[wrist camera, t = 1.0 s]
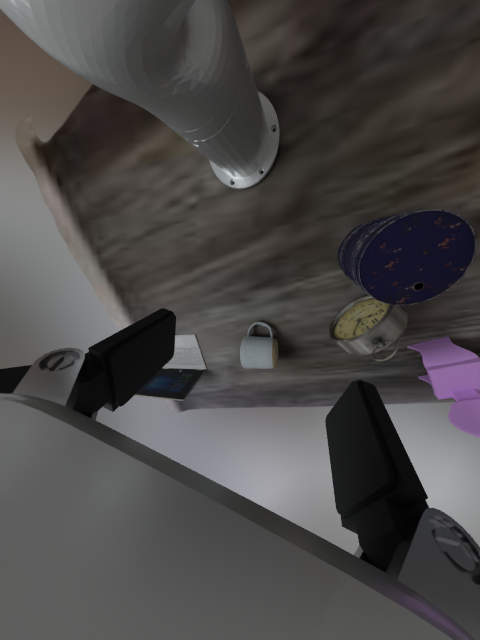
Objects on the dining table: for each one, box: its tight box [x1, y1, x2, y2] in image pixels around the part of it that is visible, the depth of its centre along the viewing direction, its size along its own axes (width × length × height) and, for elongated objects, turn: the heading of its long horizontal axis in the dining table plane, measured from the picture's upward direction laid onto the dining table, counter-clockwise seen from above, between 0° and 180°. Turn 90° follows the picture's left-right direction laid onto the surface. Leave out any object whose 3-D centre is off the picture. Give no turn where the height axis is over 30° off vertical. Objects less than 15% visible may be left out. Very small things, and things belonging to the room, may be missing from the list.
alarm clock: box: [329, 294, 408, 361], centre depth 30 cm, size 11×5×16 cm, turn 141°
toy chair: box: [407, 336, 480, 437], centre depth 29 cm, size 8×9×15 cm
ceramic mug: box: [240, 322, 278, 369], centre depth 43 cm, size 11×8×8 cm
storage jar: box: [338, 210, 477, 305], centre depth 26 cm, size 10×10×15 cm
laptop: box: [135, 334, 207, 401], centre depth 52 cm, size 18×12×13 cm
